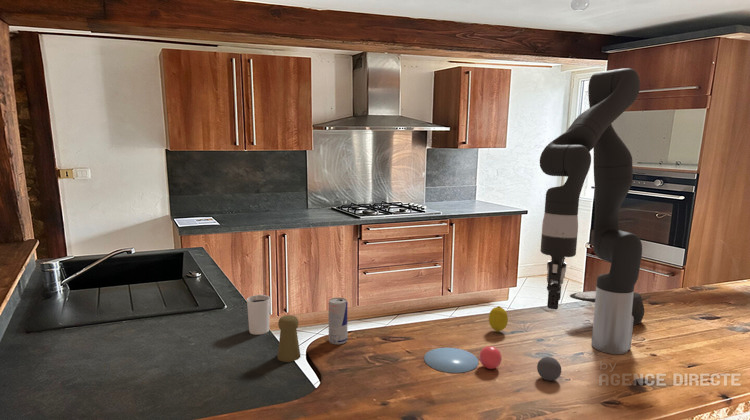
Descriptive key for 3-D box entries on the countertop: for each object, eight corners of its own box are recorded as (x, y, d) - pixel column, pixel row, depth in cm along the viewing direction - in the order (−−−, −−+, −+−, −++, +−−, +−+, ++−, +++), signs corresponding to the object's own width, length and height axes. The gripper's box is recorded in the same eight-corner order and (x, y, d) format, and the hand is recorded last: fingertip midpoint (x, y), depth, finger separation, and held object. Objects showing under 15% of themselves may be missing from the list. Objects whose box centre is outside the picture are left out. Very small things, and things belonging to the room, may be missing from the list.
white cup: (259, 337, 138) (258, 303, 136) (243, 331, 141) (241, 299, 140) (275, 329, 143) (274, 297, 142) (259, 324, 147) (258, 293, 145)
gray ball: (549, 372, 119) (550, 351, 118) (565, 382, 113) (567, 361, 113) (531, 376, 117) (532, 354, 116) (547, 386, 112) (548, 364, 111)
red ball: (492, 361, 124) (493, 341, 123) (505, 370, 119) (506, 350, 118) (474, 364, 122) (475, 344, 121) (486, 374, 117) (487, 353, 116)
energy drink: (350, 339, 137) (350, 299, 135) (341, 346, 132) (341, 304, 130) (334, 335, 139) (334, 296, 137) (325, 342, 134) (324, 301, 133)
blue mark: (460, 345, 134) (460, 344, 134) (489, 367, 121) (489, 366, 121) (415, 352, 129) (415, 352, 129) (440, 376, 116) (440, 376, 116)
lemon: (505, 328, 146) (506, 303, 144) (508, 336, 140) (510, 310, 139) (487, 327, 146) (488, 302, 145) (489, 335, 141) (490, 309, 140)
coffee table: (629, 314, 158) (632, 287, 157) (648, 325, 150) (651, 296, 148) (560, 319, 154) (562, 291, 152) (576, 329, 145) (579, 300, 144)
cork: (278, 351, 128) (277, 312, 127) (301, 351, 129) (300, 312, 127) (276, 362, 122) (275, 321, 121) (299, 361, 123) (299, 320, 121)
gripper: (576, 239, 99) (570, 315, 101) (578, 232, 112) (572, 299, 114) (538, 235, 102) (533, 309, 104) (544, 229, 115) (539, 294, 117)
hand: (553, 304), depth 109 cm, fingers open, 8 cm apart
